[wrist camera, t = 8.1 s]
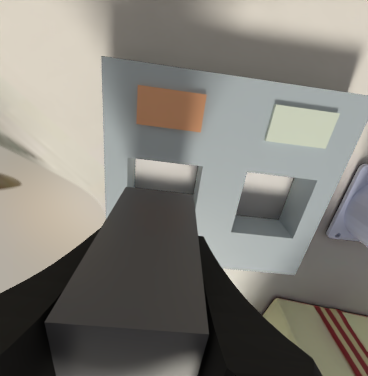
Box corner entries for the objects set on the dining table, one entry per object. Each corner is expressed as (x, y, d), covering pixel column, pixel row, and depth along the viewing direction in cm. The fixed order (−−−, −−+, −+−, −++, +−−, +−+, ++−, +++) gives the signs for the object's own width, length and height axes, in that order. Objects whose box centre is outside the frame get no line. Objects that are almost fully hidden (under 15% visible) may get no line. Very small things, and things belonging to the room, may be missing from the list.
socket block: (346, 96, 17) (382, 97, 14) (281, 253, 23) (296, 277, 20) (115, 62, 16) (99, 55, 13) (116, 237, 22) (105, 260, 19)
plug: (193, 194, 13) (209, 333, 5) (184, 247, 14) (187, 410, 7) (125, 186, 12) (44, 321, 5) (124, 241, 14) (62, 404, 7)
